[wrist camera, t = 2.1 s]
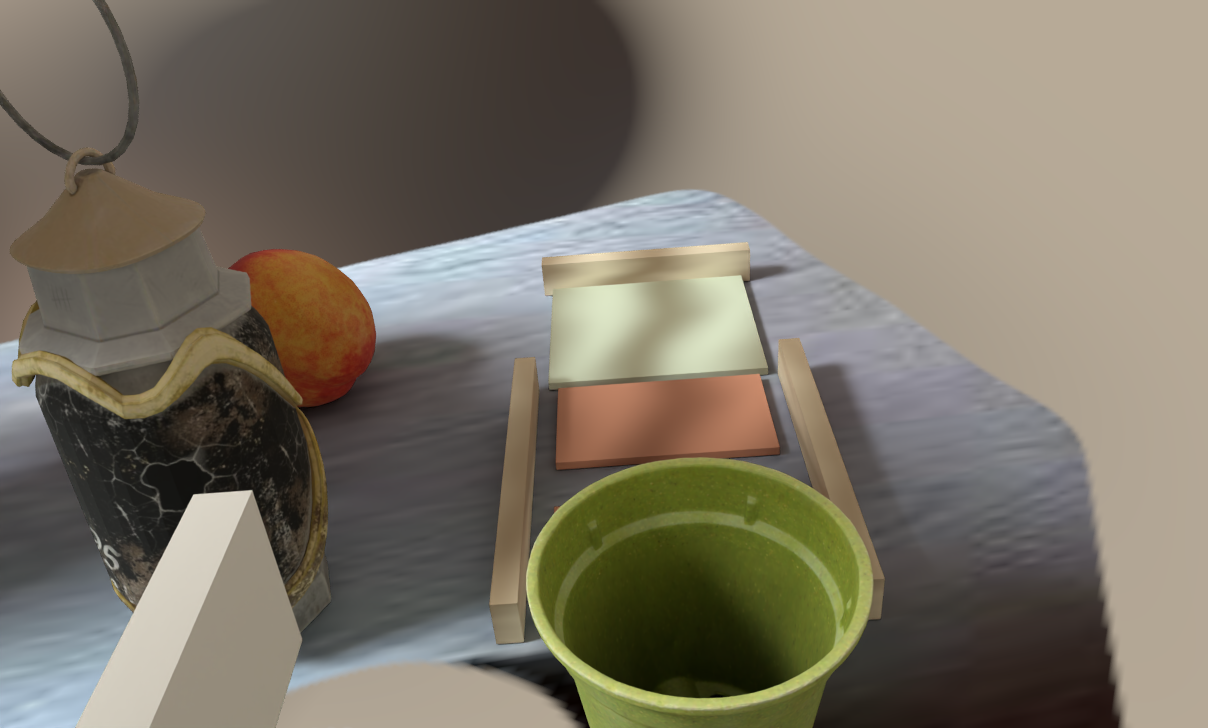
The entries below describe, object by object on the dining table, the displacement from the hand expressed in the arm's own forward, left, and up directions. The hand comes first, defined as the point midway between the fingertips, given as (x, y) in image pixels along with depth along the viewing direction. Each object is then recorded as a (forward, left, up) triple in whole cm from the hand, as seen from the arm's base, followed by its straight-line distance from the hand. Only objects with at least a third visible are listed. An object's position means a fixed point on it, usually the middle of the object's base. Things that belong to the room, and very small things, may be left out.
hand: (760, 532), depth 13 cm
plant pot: (0, +10, -19) cm, 22 cm away
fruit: (-18, +34, -19) cm, 43 cm away
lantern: (-17, +19, -19) cm, 32 cm away
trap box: (0, +29, -19) cm, 35 cm away
